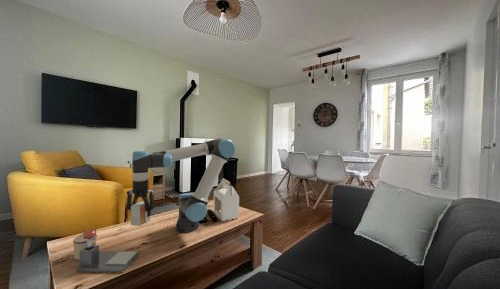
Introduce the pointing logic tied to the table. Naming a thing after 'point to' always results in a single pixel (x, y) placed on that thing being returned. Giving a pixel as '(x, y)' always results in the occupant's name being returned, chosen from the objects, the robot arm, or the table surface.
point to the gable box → (226, 201)
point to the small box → (138, 214)
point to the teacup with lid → (81, 245)
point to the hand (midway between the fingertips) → (140, 222)
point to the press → (105, 260)
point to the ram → (89, 237)
